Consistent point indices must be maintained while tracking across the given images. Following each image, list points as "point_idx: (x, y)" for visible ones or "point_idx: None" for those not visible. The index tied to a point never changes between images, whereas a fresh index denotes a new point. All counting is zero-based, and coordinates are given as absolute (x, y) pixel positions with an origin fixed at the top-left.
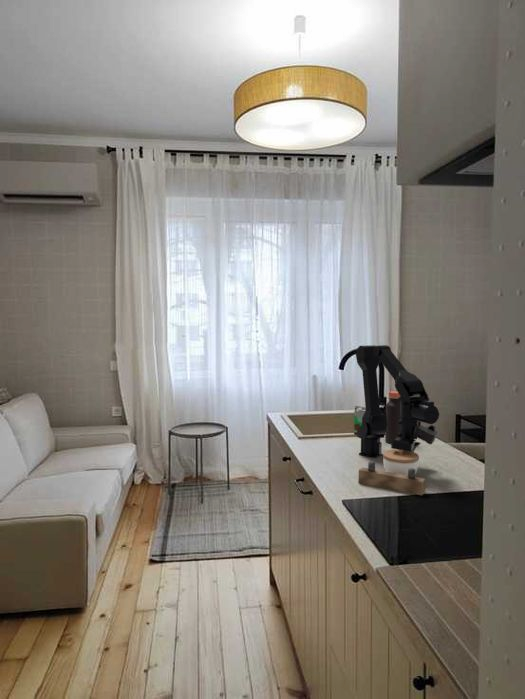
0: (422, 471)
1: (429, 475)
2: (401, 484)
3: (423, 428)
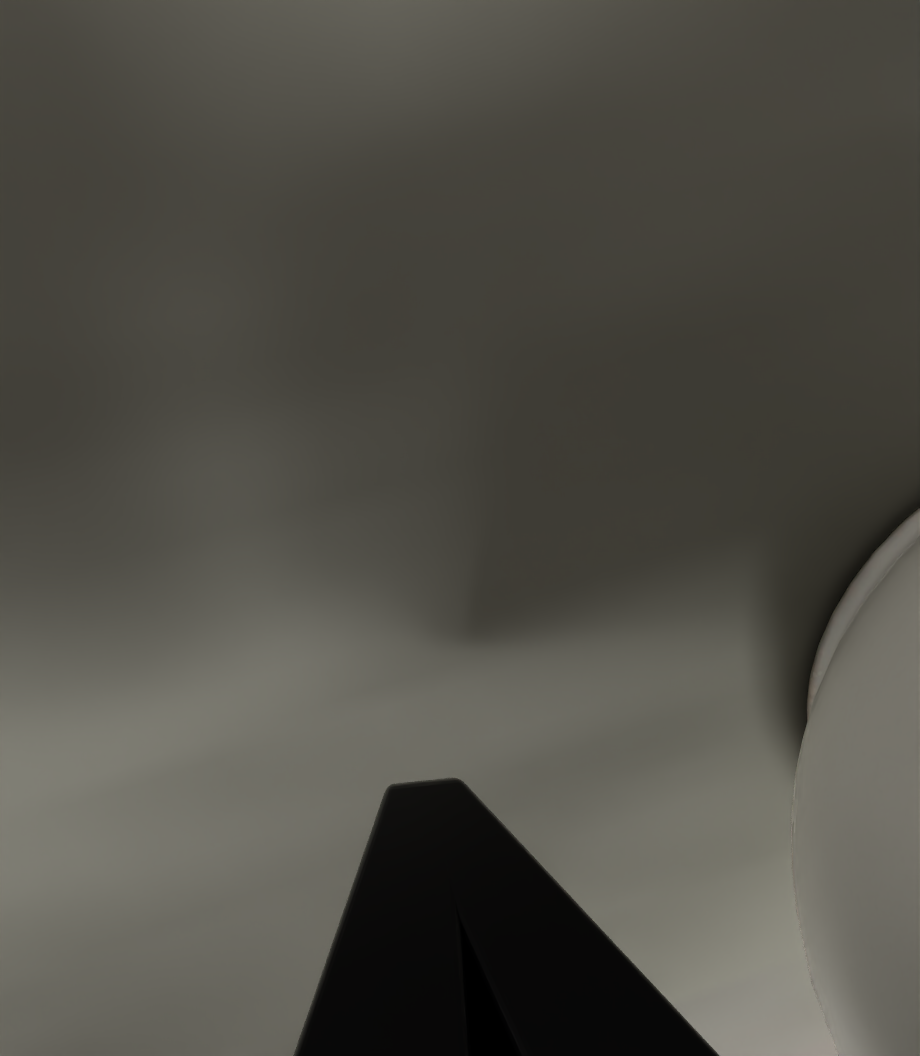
0: (119, 355)
1: (415, 16)
2: None
3: None
